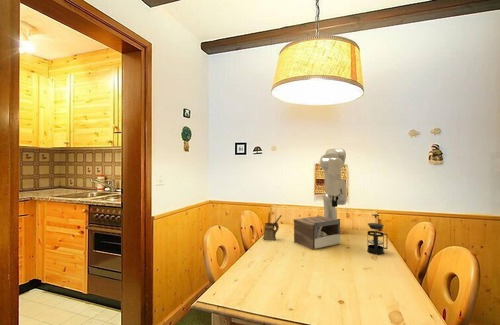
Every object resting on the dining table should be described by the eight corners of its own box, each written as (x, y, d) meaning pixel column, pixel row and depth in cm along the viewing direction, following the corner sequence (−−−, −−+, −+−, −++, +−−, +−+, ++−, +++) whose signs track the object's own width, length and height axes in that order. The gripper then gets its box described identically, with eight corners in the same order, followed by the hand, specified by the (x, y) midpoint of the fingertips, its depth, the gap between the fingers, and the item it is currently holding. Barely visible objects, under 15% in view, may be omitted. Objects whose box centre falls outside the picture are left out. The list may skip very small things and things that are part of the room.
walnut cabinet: (319, 237, 195) (319, 215, 195) (339, 243, 179) (339, 220, 179) (293, 242, 182) (293, 219, 182) (312, 249, 166) (312, 224, 167)
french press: (366, 253, 159) (366, 215, 159) (365, 249, 168) (365, 212, 168) (388, 256, 155) (388, 216, 155) (386, 251, 164) (386, 213, 164)
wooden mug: (280, 242, 182) (280, 216, 183) (261, 240, 187) (261, 214, 187) (282, 238, 191) (282, 213, 191) (264, 237, 195) (264, 212, 195)
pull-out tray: (320, 236, 192) (320, 214, 192) (340, 243, 177) (340, 219, 177) (297, 241, 181) (297, 217, 181) (315, 248, 166) (315, 222, 166)
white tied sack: (327, 244, 177) (329, 228, 183) (324, 239, 171) (327, 223, 177) (309, 241, 183) (312, 226, 189) (306, 237, 177) (309, 221, 183)
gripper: (321, 177, 172) (321, 205, 172) (340, 178, 159) (340, 208, 159) (329, 176, 176) (329, 204, 176) (348, 177, 163) (348, 207, 163)
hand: (334, 206), depth 167 cm, fingers closed
